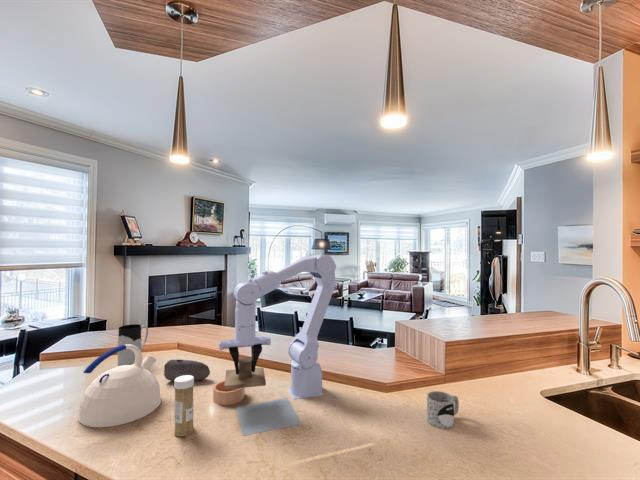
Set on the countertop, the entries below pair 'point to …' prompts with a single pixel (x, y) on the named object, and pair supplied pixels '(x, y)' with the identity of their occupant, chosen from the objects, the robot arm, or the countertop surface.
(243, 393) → the terracotta bowl
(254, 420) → the rubber mat
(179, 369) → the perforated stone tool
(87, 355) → the countertop surface
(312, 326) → the robot arm
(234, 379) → the cover board
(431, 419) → the mug
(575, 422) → the countertop surface
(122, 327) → the gray black pitcher
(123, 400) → the kettle
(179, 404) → the sprinkles bottle
